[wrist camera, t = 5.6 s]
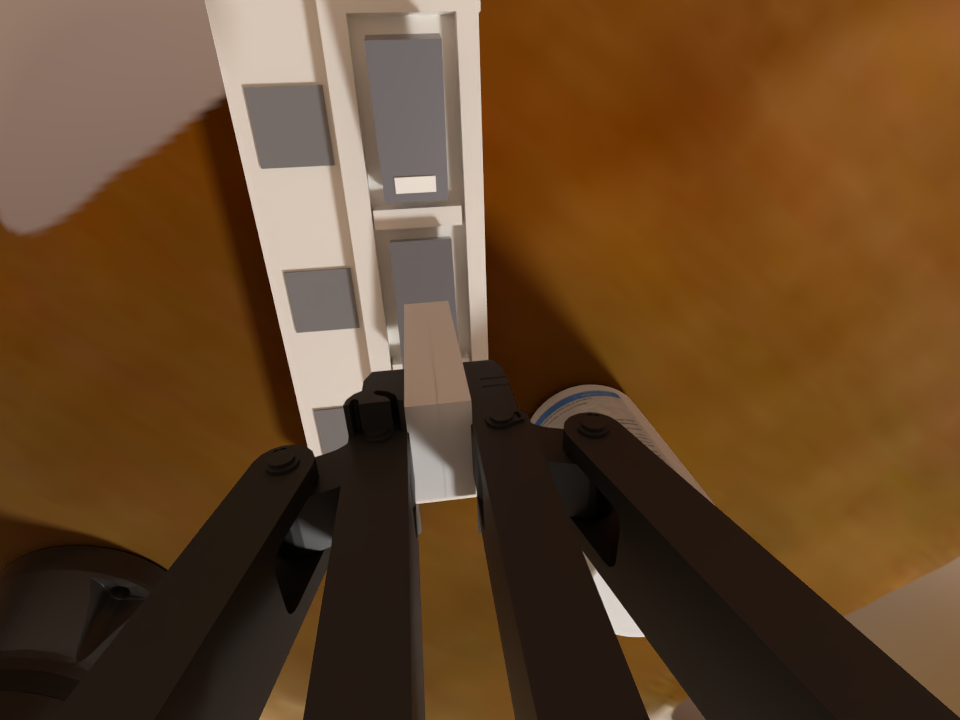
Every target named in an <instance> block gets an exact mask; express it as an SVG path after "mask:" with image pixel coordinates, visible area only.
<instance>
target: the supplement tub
mask: <svg viewBox="0 0 960 720" xmlns="http://www.w3.org/2000/svg"><path fill="white" fill-rule="evenodd" d="M585 412H593V413H594V412H595V413H601V414H604V415H607V416H610V417H612V418H613V419H615V420H616V421H618V422H619V423H620V424H621V425H623V426H624V427H625V428H626V429H627V430H628V431H629V432H631V433H632V434H633V435H634V436H635V437H636V438H638V439H639V440H640V441H641V442H642V443H643V444H644V445H646V446H647V447H648V448H649V449H650V450H651V451H653V452H654V453H655V454H656V455H657V456H658V457H659V458H661V459H662V460H663V461H664V462H665V463H666V464H668V465H669V466H670V467H671V468H672V469H673V470H674V471H676V472H677V473H678V474H679V475H680V476H681V477H683V478H684V479H685V480H686V481H687V482H688V483H689V484H691V485H692V486H693V487H694V488H695V489H696V490H698V491H699V492H700V493H701V494H702V495H703V496H704V497H706V498H707V499H708V500H709V501H710V502H711V503H713V502H712V501H711V499H710V498H709V497H708V495H707V494H706V493H705V492H704V491H703V489H702V488H701V487H700V485H699V484H698V483H697V482H696V480H695V479H694V478H693V477H692V475H691V474H690V473H689V471H688V470H687V469H686V468H685V466H684V465H683V464H682V463H681V461H680V460H679V459H678V458H677V456H676V455H675V454H674V453H673V451H672V450H671V449H670V448H669V446H668V445H667V444H666V443H665V441H664V440H663V439H662V438H661V436H660V435H659V434H658V433H657V431H656V430H655V429H654V428H653V426H652V425H651V424H650V423H649V421H648V420H647V419H646V418H645V416H644V415H643V414H642V413H641V411H640V410H639V409H638V408H637V406H636V405H635V404H634V403H633V402H632V400H631V399H630V398H629V397H628V396H626V395H625V394H623V393H622V392H620V391H618V390H616V389H614V388H611V387H607V386H602V385H579V386H575V387H571V388H568V389H565V390H563V391H561V392H559V393H557V394H555V395H554V396H552V397H551V398H549V399H548V400H547V401H545V402H544V403H543V404H542V405H541V406H540V407H539V408H538V409H537V411H536V412H535V413H534V415H533V416H532V418H531V420H530V421H531V423H533V424H536V425H539V426H543V427H550V428H560V429H564V422H565V421H566V420H567V419H568V418H569V417H570V416H573V415H575V414H577V413H585ZM713 504H714V503H713ZM583 554H584V552H583ZM584 556H585V559H586V562H587V564H588V567H589V569H590V572H591V574H592V577H593V579H594V582H595V584H596V587H597V589H598V592H599V594H600V597H601V599H602V602H603V604H604V607H605V609H606V612H607V614H608V617H609V619H610V622H611V624H612V627H613V629H614V632H615V634H617V635H621V636H628V637H645V636H644V634H643V633H642V632H641V630H640V629H639V628H638V626H637V625H636V623H635V622H634V621H633V619H632V618H631V617H630V615H629V614H628V612H627V611H626V610H625V608H624V607H623V606H622V604H621V603H620V602H619V600H618V599H617V597H616V596H615V595H614V593H613V592H612V591H611V589H610V588H609V587H608V585H607V584H606V582H605V581H604V580H603V578H602V577H601V576H600V574H599V573H598V572H597V570H596V569H595V567H594V566H593V565H592V563H591V562H590V561H589V559H588V558H587V557H586V555H585V554H584Z"/></svg>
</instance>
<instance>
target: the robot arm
mask: <svg viewBox="0 0 960 720" xmlns="http://www.w3.org/2000/svg"><path fill="white" fill-rule="evenodd" d="M343 409H344V414H345V420H346V425H347V431H348V436H349V437H348V443H347V444H346V445H344V446H342V447H341V448H339V449H337V450H334V451H332V452H329V453H326V454H323V455H320V456H317V457H315V456H314V453H313V451H312V450H310V449H309V448H307V447H306V446H300V445H287V446H281V447H277V448H274V449H272V450H270V451H268V452H266V453H264V454H262V455H261V456H260V457H258V458H257V459H256V460H255V461H254V462H253V463H252V464H251V466H250V467H249V468H248V469H247V471H246V472H245V473H244V475H243V476H242V477H241V478H240V480H239V481H238V482H237V483H236V485H235V486H234V487H233V488H232V490H231V491H230V492H229V494H228V495H227V496H226V497H225V499H224V500H223V501H222V502H221V504H220V505H219V506H218V508H217V509H216V510H215V511H214V513H213V514H212V515H211V516H210V518H209V519H208V520H207V521H206V523H205V524H204V525H203V527H202V528H201V529H200V530H199V532H198V533H197V534H196V535H195V537H194V538H193V539H192V540H191V542H190V543H189V544H188V546H187V547H186V548H185V549H184V551H183V552H182V553H181V554H180V556H179V557H178V558H177V559H176V561H175V562H174V563H173V565H172V566H171V567H170V568H169V570H168V571H167V572H166V571H165V570H163V569H162V568H160V567H158V566H157V565H155V564H153V563H151V562H149V561H147V560H145V559H142V558H140V557H137V556H134V555H132V554H128V553H125V552H121V551H118V550H113V549H108V548H102V547H93V546H62V547H54V548H48V549H43V550H39V551H36V552H33V553H30V554H27V555H25V556H22V557H20V558H18V559H16V560H15V561H13V562H11V563H10V564H8V565H7V566H6V567H5V568H3V569H2V570H1V571H0V720H259V718H260V716H261V713H262V711H263V709H264V707H265V705H266V702H267V700H268V698H269V696H270V694H271V691H272V689H273V687H274V685H275V683H276V680H277V678H278V676H279V674H280V671H281V669H282V667H283V665H284V663H285V660H286V658H287V656H288V654H289V652H290V649H291V647H292V645H293V643H294V640H295V638H296V636H297V634H298V632H299V629H300V627H301V625H302V623H303V621H304V618H305V616H306V614H307V612H308V609H309V607H310V605H311V603H312V601H313V598H314V596H315V594H316V592H317V590H318V587H319V585H320V583H321V581H322V578H323V576H324V574H325V572H326V570H327V574H326V581H325V587H324V593H323V599H322V606H321V612H320V618H319V624H318V631H317V637H316V643H315V649H314V655H313V662H312V668H311V674H310V680H309V687H308V693H307V699H306V705H305V711H304V718H303V720H425V699H424V673H423V647H422V621H421V595H420V569H419V543H418V517H417V509H416V501H424V500H432V499H440V498H449V497H457V496H465V495H474V494H476V491H477V508H478V529H479V533H480V532H482V537H483V542H484V548H485V553H486V559H487V564H488V570H489V575H490V581H491V587H492V592H493V598H494V603H495V609H496V614H497V620H498V625H499V631H500V636H501V642H502V648H503V653H504V659H505V664H506V670H507V675H508V681H509V686H510V692H511V698H512V703H513V709H514V714H515V720H650V719H649V717H648V714H647V712H646V709H645V707H644V704H643V702H642V699H641V697H640V694H639V692H638V689H637V687H636V684H635V682H634V679H633V677H632V674H631V672H630V669H629V667H628V664H627V662H626V659H625V657H624V654H623V652H622V649H621V647H620V644H619V642H618V639H617V637H616V634H615V632H614V629H613V627H612V624H611V622H610V619H609V617H608V614H607V612H606V609H605V607H604V604H603V602H602V599H601V597H600V594H599V592H598V589H597V587H596V584H595V582H594V579H593V577H592V574H591V572H590V569H589V567H588V564H587V562H586V559H585V556H584V554H585V555H586V557H587V558H588V559H589V561H590V562H591V563H592V565H593V566H594V567H595V569H596V570H597V572H598V573H599V574H600V576H601V577H602V578H603V580H604V581H605V582H606V584H607V585H608V587H609V588H610V589H611V591H612V592H613V593H614V595H615V596H616V597H617V599H618V600H619V602H620V603H621V604H622V606H623V607H624V608H625V610H626V611H627V612H628V614H629V615H630V617H631V618H632V619H633V621H634V622H635V623H636V625H637V626H638V628H639V629H640V630H641V632H642V633H643V634H644V636H645V637H646V638H647V640H648V641H649V643H650V644H651V645H652V647H653V648H654V649H655V651H656V652H657V653H658V655H659V656H660V658H661V659H662V660H663V662H664V663H665V664H666V666H667V667H668V668H669V670H670V671H671V673H672V674H673V675H674V677H675V678H676V679H677V681H678V682H679V683H680V685H681V686H682V688H683V689H684V690H685V692H686V693H687V694H688V696H689V697H690V698H691V700H692V701H693V702H694V704H695V705H696V707H697V708H698V709H699V711H700V712H701V713H702V715H703V716H704V717H705V719H706V720H960V718H959V717H958V716H957V715H956V714H955V713H953V712H952V711H951V710H950V709H949V708H948V707H947V706H945V705H944V704H943V703H942V702H941V701H940V700H939V699H937V698H936V697H935V696H934V695H933V694H931V693H930V692H929V691H928V690H927V689H926V688H925V687H924V686H922V685H921V684H920V683H919V682H918V681H917V680H915V679H914V678H913V677H912V676H911V675H910V674H909V673H907V672H906V671H905V670H904V669H903V668H901V666H899V665H898V664H897V663H896V662H894V660H892V659H891V658H890V657H889V656H888V655H887V654H886V653H884V652H883V651H882V650H881V649H880V648H879V647H877V646H876V645H875V644H874V643H873V642H872V641H870V640H869V639H868V638H867V637H866V636H865V635H863V634H862V633H861V632H860V631H859V630H858V629H857V628H855V627H854V626H853V625H852V624H851V623H850V622H849V621H847V620H846V619H845V618H844V617H843V616H842V615H841V614H839V613H838V612H837V611H836V610H835V609H834V608H832V607H831V606H830V605H829V604H828V603H827V602H826V601H824V600H823V599H822V598H821V597H820V596H819V595H817V594H816V593H815V592H814V591H813V590H812V589H811V588H809V587H808V586H807V585H806V584H805V583H804V582H802V581H801V580H800V579H799V578H798V577H797V576H796V575H794V574H793V573H792V572H791V571H790V570H789V569H787V568H786V567H785V566H784V565H783V564H782V563H781V562H779V561H778V560H777V559H776V558H775V557H774V556H772V555H771V554H770V553H769V552H768V551H767V550H766V549H764V548H763V547H762V546H761V545H760V544H759V543H757V542H756V541H755V540H754V539H753V538H752V537H751V536H749V535H748V534H747V533H746V532H745V531H744V530H742V529H741V528H740V527H739V526H738V525H737V524H736V523H734V522H733V521H732V520H731V519H730V518H729V517H727V516H726V515H725V514H724V513H723V512H722V511H721V510H719V509H718V508H717V507H716V506H715V505H714V504H713V503H711V502H710V501H709V500H708V499H707V498H706V497H704V496H703V495H702V494H701V493H700V492H699V491H698V490H696V489H695V488H694V487H693V486H692V485H691V484H689V483H688V482H687V481H686V480H685V479H684V478H683V477H681V476H680V475H679V474H678V473H677V472H676V471H674V470H673V469H672V468H671V467H670V466H669V465H668V464H666V463H665V462H664V461H663V460H662V459H661V458H659V457H658V456H657V455H656V454H655V453H654V452H653V451H651V450H650V449H649V448H648V447H647V446H646V445H644V444H643V443H642V442H641V441H640V440H639V439H638V438H636V437H635V436H634V435H633V434H632V433H631V432H629V431H628V430H627V429H626V428H625V427H624V426H623V425H621V424H620V423H619V422H618V421H616V420H615V419H613V418H612V417H610V416H607V415H604V414H601V413H595V412H594V413H593V412H585V413H577V414H575V415H573V416H570V417H569V418H568V419H567V420H566V421H565V422H564V429H560V428H550V427H543V426H539V425H536V424H533V423H531V421H530V419H529V417H528V415H527V414H526V413H525V412H524V411H522V410H520V409H519V408H518V406H517V404H516V401H515V398H514V396H513V393H512V391H511V388H510V385H509V383H508V380H507V378H506V375H505V372H504V369H503V367H502V366H501V365H499V364H498V363H497V362H495V361H494V360H482V361H471V362H462V358H461V354H460V349H459V345H458V341H457V336H456V332H455V328H454V323H453V319H452V315H451V310H450V306H449V302H448V301H440V302H427V303H414V304H404V369H398V370H387V371H376V372H371V373H370V375H369V376H368V377H367V378H366V379H365V380H364V381H363V387H362V391H360V392H358V393H355V394H353V395H352V396H351V397H349V398H348V399H347V400H346V401H345V403H344V405H343ZM583 552H584V554H583ZM327 567H328V568H327Z"/></svg>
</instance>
